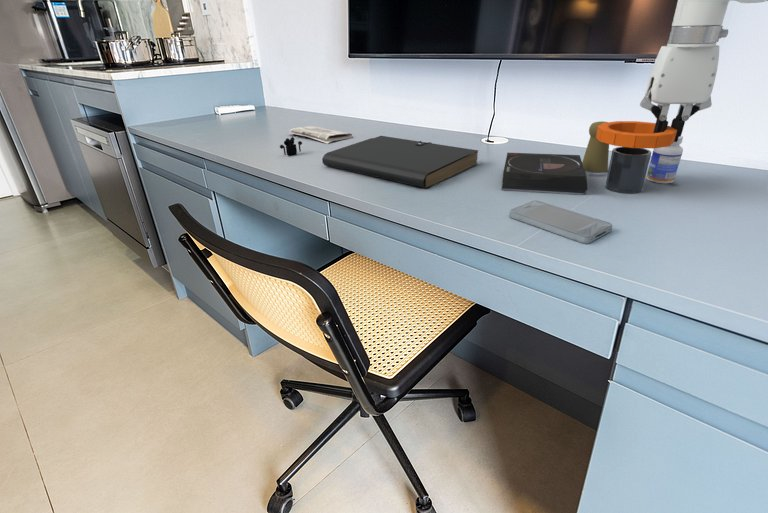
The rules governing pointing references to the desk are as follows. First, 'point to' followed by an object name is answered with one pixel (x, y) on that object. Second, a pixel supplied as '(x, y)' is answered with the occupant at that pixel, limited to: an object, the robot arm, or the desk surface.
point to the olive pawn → (596, 152)
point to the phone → (561, 221)
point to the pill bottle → (665, 163)
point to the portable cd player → (544, 173)
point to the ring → (634, 134)
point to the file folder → (403, 160)
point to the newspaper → (320, 133)
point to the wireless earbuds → (290, 147)
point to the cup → (627, 169)
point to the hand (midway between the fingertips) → (665, 139)
